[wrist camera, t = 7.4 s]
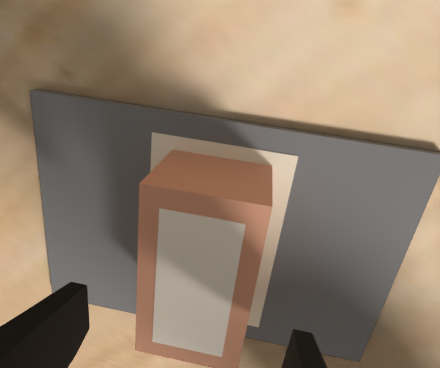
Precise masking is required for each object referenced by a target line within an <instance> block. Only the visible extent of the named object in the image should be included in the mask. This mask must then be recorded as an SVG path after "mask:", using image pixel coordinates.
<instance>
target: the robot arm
mask: <svg viewBox="0 0 440 368" xmlns="http://www.w3.org/2000/svg"><path fill="white" fill-rule="evenodd" d="M88 330H89V310H88V291H87V285H84V284H80V283H75V282H70V283H68V284H66V285H65V286H63V287H62V288H60V289H59V290H57V291H56V292H54V293H52V294H51V295H49V296H48V297H46V298H45V299H43V300H42V301H40V302H39V303H37V304H36V305H34V306H32V307H31V308H29V309H28V310H26V311H25V312H23V313H21V314H20V315H18V316H17V317H15V318H14V319H12V320H10V321H9V322H7V323H6V324H4V325H2V326H0V368H68V366H69V365H70V363H71V362H72V360H73V358H74V357H75V355H76V353H77V351H78V349H79V348H80V346H81V344H82V342H83V340H84V338H85V336H86V334H87V332H88ZM282 368H327V366H326V364H325V361H324V359H323V357H322V354H321V352H320V350H319V347H318V345H317V342H316V340H315V337H314V335H313V334H312V333H310V332H305V331H301V330H296V329H293V331H292V334H291V338H290V341H289V344H288V348H287V351H286V355H285V358H284V362H283V365H282Z"/></svg>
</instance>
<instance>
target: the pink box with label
mask: <svg viewBox="0 0 440 368" xmlns="http://www.w3.org/2000/svg"><path fill="white" fill-rule="evenodd" d="M271 212H272V166H269V165H263V164H257V163H251V162H245V161H239V160H233V159H227V158H221V157H215V156H209V155H203V154H197V153H191V152H185V151H179V150H172V151H171V152H170V153H169V154H168V155H167V156H166V157H165V158H164V159H163V160H162V161H161V162H160V163H159V164H158V165H157V166H156V167H155V168H154V169H153V170H152V171H151V172H150V173H149V174H148V175H147V176H146V177H145V178H144V179H143V180H142V181H141V182H140V183H139V219H138V260H137V300H136V341H135V350H137V351H141V352H146V353H150V354H154V355H159V356H163V357H168V358H172V359H177V360H181V361H186V362H190V363H195V364H199V365H203V366H208V367H212V368H238V367H239V362H240V357H241V352H242V348H243V343H244V338H245V334H246V329H247V324H248V320H249V315H250V310H251V306H252V301H253V296H254V291H255V287H256V282H257V277H258V273H259V268H260V263H261V259H262V254H263V249H264V244H265V240H266V235H267V230H268V226H269V221H270V216H271Z"/></svg>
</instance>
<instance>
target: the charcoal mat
mask: <svg viewBox="0 0 440 368" xmlns="http://www.w3.org/2000/svg"><path fill="white" fill-rule="evenodd" d="M30 97H31V106H32V115H33V124H34V133H35V142H36V151H37V160H38V169H39V178H40V187H41V197H42V206H43V215H44V224H45V233H46V242H47V251H48V260H49V269H50V278H51V287H52V293H54V292H56V291H57V290H59V289H60V288H62V287H63V286H65V285H66V284H68V283H70V282H75V283H80V284H84V285H87V291H88V304H92V305H97V306H101V307H106V308H111V309H115V310H120V311H125V312H129V313H134V314H136V300H137V260H138V219H139V183H140V182H141V181H142V180H143V179H144V178H145V177H146V176H147V175H148V174H149V173H150V172H151V171H152V170H153V169H154V168H155V167H156V166H157V165H158V164H159V163H160V162H161V161H162V160H163V159H164V158H165V157H166V156H167V155H168V154H169V153H170V152H171V151H172V150H179V151H185V152H191V153H197V154H203V155H209V156H215V157H221V158H227V159H233V160H239V161H245V162H251V163H257V164H263V165H269V166H272V212H271V216H270V221H269V226H268V230H267V235H266V240H265V244H264V249H263V254H262V259H261V263H260V268H259V273H258V277H257V282H256V287H255V291H254V296H253V301H252V306H251V310H250V315H249V320H248V324H247V329H246V334H245V337H246V338H250V339H255V340H260V341H264V342H269V343H274V344H278V345H283V346H288V344H289V341H290V338H291V334H292V331H293V329H296V330H301V331H305V332H310V333H312V334H313V335H314V337H315V340H316V342H317V345H318V347H319V350H320V352H321V354H325V355H329V356H334V357H339V358H343V359H348V360H353V361H357V362H359V361H360V359H361V357H362V354H363V352H364V350H365V347H366V345H367V343H368V340H369V338H370V336H371V333H372V331H373V329H374V326H375V324H376V322H377V319H378V317H379V315H380V312H381V310H382V308H383V305H384V303H385V301H386V298H387V296H388V294H389V291H390V289H391V287H392V284H393V282H394V280H395V277H396V275H397V273H398V270H399V268H400V266H401V264H402V261H403V259H404V257H405V254H406V252H407V250H408V247H409V245H410V243H411V240H412V238H413V236H414V233H415V231H416V229H417V226H418V224H419V222H420V219H421V217H422V215H423V212H424V210H425V208H426V205H427V203H428V201H429V198H430V196H431V194H432V191H433V189H434V187H435V184H436V182H437V180H438V177H439V175H440V152H437V151H430V150H424V149H418V148H411V147H405V146H398V145H392V144H385V143H379V142H373V141H366V140H360V139H353V138H347V137H341V136H334V135H328V134H321V133H315V132H308V131H302V130H296V129H289V128H283V127H276V126H270V125H264V124H257V123H251V122H244V121H238V120H231V119H225V118H219V117H212V116H206V115H199V114H193V113H187V112H180V111H174V110H167V109H161V108H154V107H148V106H142V105H135V104H129V103H122V102H116V101H110V100H103V99H97V98H90V97H84V96H77V95H71V94H65V93H58V92H52V91H45V90H39V89H36V90H30Z"/></svg>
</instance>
